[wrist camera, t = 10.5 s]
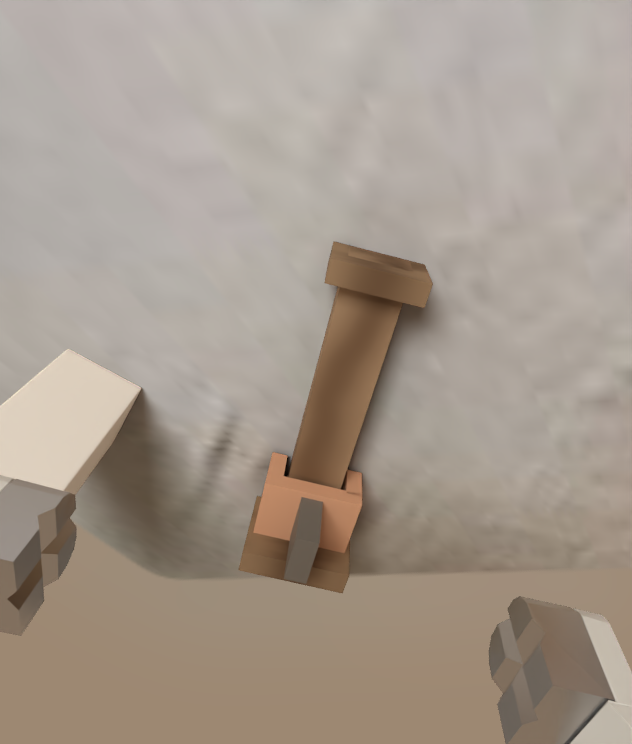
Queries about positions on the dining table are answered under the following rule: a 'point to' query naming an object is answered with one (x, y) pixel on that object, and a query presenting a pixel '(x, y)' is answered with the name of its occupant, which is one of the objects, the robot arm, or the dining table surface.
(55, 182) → the dining table surface
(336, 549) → the slider
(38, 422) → the milk
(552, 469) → the dining table surface
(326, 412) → the rail
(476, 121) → the dining table surface
